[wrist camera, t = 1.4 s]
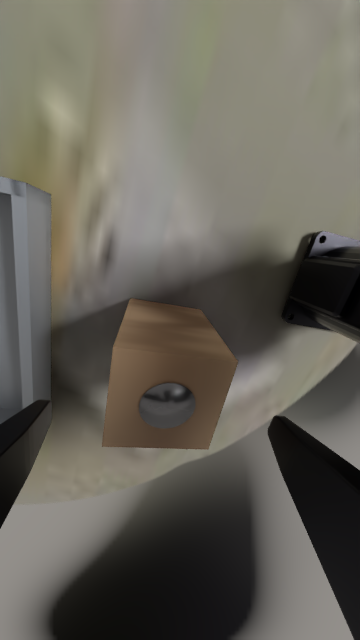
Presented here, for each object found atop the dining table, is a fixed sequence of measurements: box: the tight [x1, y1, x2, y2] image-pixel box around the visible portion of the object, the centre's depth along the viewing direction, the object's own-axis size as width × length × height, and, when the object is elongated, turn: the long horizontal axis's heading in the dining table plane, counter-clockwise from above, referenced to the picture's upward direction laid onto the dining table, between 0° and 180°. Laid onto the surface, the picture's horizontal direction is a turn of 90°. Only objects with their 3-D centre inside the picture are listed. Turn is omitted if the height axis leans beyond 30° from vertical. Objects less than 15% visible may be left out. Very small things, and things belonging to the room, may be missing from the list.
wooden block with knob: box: [102, 298, 238, 449], centre depth 12 cm, size 5×5×7 cm
